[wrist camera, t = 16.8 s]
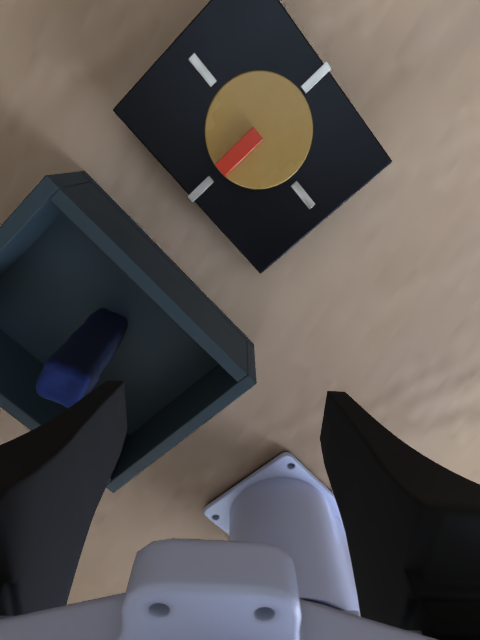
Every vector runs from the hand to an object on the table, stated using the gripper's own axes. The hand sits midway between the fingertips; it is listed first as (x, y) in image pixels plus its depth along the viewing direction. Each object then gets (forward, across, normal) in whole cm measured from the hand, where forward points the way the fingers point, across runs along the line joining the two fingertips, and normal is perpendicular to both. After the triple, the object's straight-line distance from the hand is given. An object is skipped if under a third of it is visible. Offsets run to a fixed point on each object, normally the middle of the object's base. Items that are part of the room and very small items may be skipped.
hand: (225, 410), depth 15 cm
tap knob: (+8, -1, -9) cm, 12 cm away
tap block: (+10, -1, -9) cm, 14 cm away
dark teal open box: (+10, +7, +1) cm, 13 cm away
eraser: (+10, +7, +1) cm, 12 cm away
